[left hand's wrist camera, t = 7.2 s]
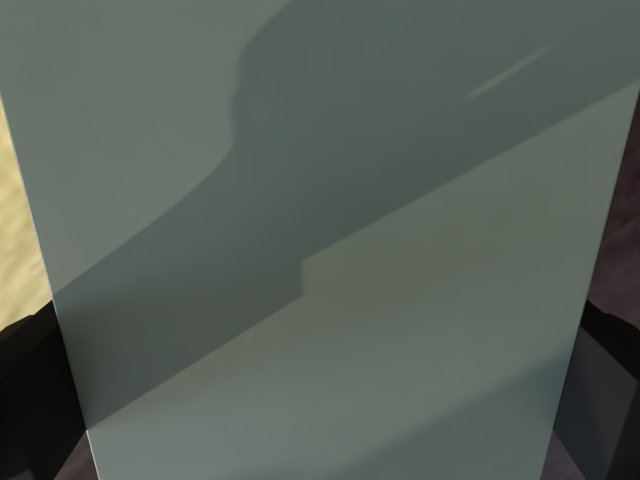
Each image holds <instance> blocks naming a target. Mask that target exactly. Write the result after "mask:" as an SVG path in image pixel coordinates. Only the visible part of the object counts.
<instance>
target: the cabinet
mask: <svg viewBox="0 0 640 480" xmlns="http://www.w3.org/2000/svg"><path fill="white" fill-rule="evenodd" d="M639 92H640V0H0V98H1V102H2V106H3V109H4V113H5V117H6V121H7V125H8V129H9V133H10V137H11V141H12V144H13V148H14V152H15V156H16V160H17V164H18V168H19V172H20V175H21V179H22V183H23V187H24V191H25V195H26V199H27V203H28V206H29V210H30V214H31V218H32V222H33V226H34V230H35V234H36V237H37V241H38V245H39V249H40V253H41V257H42V261H43V265H44V268H45V272H46V276H47V280H48V284H49V288H50V292H51V296H52V300H53V303H54V307H55V311H56V315H57V319H58V323H59V327H60V331H61V334H62V338H63V342H64V346H65V350H66V354H67V358H68V362H69V365H70V369H71V373H72V377H73V381H74V385H75V389H76V393H77V396H78V400H79V404H80V408H81V412H82V416H83V420H84V424H85V427H86V431H87V435H88V439H89V443H90V447H91V451H92V455H93V458H94V462H95V466H96V470H97V474H98V478H99V480H540V479H541V475H542V471H543V467H544V463H545V459H546V455H547V451H548V447H549V444H550V440H551V436H552V432H553V428H554V424H555V420H556V416H557V412H558V408H559V404H560V401H561V397H562V393H563V389H564V385H565V381H566V377H567V373H568V369H569V365H570V361H571V358H572V354H573V350H574V346H575V342H576V338H577V334H578V330H579V326H580V322H581V318H582V315H583V311H584V307H585V303H586V299H587V295H588V291H589V287H590V283H591V279H592V275H593V272H594V268H595V264H596V260H597V256H598V252H599V248H600V244H601V240H602V236H603V232H604V229H605V225H606V221H607V217H608V213H609V209H610V205H611V201H612V197H613V193H614V189H615V186H616V182H617V178H618V174H619V170H620V166H621V162H622V158H623V154H624V150H625V146H626V143H627V139H628V135H629V131H630V127H631V123H632V119H633V115H634V111H635V107H636V103H637V100H638V96H639Z"/></svg>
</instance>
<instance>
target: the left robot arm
mask: <svg viewBox="0 0 640 480" xmlns="http://www.w3.org/2000/svg"><path fill="white" fill-rule="evenodd" d="M553 430H554V432H555V433H556V435H557V436H558V438H559V439H560V441H561V442H562V444H563V446H564V447H565V449H566V450H567V452H568V453H569V455H570V456H571V458H572V459H573V461H574V462H575V464H576V465H577V467H578V468H579V470H580V471H581V473H582V474H583V476H584V477H585V479H586V480H640V330H639V329H638V328H636V327H635V326H634V325H632V324H630V323H628V322H626V321H624V320H622V319H620V318H618V317H616V316H614V315H612V314H604V313H603V312H602V311H600V310H599V309H598V308H597V307H596V306H594V305H593V304H592V303H591V302H590V301H588V300H587V299H586V303H585V307H584V311H583V315H582V318H581V322H580V326H579V330H578V334H577V338H576V342H575V346H574V350H573V354H572V358H571V361H570V365H569V369H568V373H567V377H566V381H565V385H564V389H563V393H562V397H561V401H560V404H559V408H558V412H557V416H556V420H555V424H554V428H553ZM85 431H86V427H85V424H84V420H83V416H82V412H81V408H80V404H79V400H78V396H77V393H76V389H75V385H74V381H73V377H72V373H71V369H70V365H69V362H68V358H67V354H66V350H65V346H64V342H63V338H62V334H61V331H60V327H59V323H58V319H57V315H56V311H55V307H54V303H53V300H51V301H50V302H49V303H47V304H46V305H45V306H44V307H43V308H41V309H40V310H39V311H38V312H37V313H36V314H34V315H29V316H27V317H25V318H23V319H21V320H19V321H17V322H15V323H13V324H11V325H9V326H7V327H6V328H4V329H3V330H2V331H1V332H0V480H54V478H55V477H56V475H57V474H58V472H59V471H60V469H61V468H62V466H63V465H64V463H65V462H66V460H67V458H68V457H69V455H70V454H71V452H72V451H73V449H74V448H75V446H76V445H77V443H78V442H79V440H80V439H81V437H82V436H83V434H84V433H85Z"/></svg>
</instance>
